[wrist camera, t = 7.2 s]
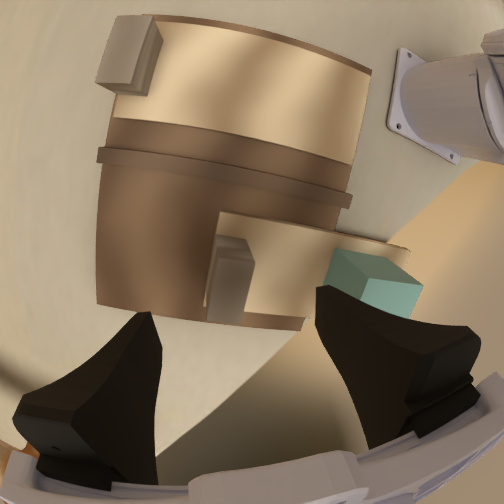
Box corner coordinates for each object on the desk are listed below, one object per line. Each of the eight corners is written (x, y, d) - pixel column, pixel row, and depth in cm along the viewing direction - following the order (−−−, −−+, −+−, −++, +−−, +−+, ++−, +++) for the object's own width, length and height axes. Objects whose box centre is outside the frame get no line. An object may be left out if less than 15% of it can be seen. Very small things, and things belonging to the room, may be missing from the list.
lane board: (366, 71, 17) (380, 67, 15) (297, 325, 24) (304, 339, 22) (143, 18, 13) (138, 7, 11) (99, 299, 20) (92, 311, 19)
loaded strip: (405, 247, 22) (440, 270, 17) (377, 316, 24) (404, 347, 20) (219, 209, 18) (223, 230, 14) (203, 300, 21) (203, 340, 16)
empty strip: (365, 77, 16) (404, 66, 12) (346, 164, 19) (384, 172, 14) (143, 25, 13) (126, -6, 8) (116, 118, 15) (88, 110, 11)
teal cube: (386, 257, 21) (423, 285, 16) (365, 311, 23) (394, 345, 18) (335, 247, 20) (368, 278, 15) (314, 307, 22) (339, 346, 17)
